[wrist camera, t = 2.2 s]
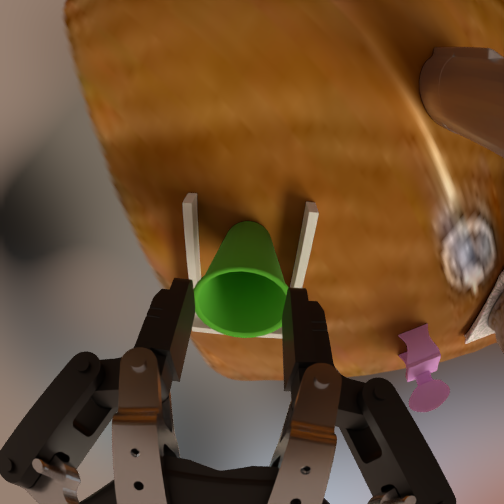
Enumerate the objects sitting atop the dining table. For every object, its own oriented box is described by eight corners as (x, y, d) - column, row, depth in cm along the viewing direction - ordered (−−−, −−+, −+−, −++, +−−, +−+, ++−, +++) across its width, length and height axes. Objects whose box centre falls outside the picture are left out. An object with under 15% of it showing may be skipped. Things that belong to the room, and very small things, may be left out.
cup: (223, 273, 36) (211, 341, 27) (200, 213, 31) (175, 276, 22) (291, 262, 34) (299, 332, 25) (279, 197, 29) (285, 259, 20)
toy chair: (432, 319, 41) (459, 387, 29) (428, 343, 46) (450, 404, 33) (392, 335, 43) (414, 406, 31) (393, 357, 48) (410, 420, 36)
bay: (188, 192, 29) (170, 223, 24) (351, 206, 29) (369, 239, 24) (198, 316, 41) (189, 351, 36) (315, 324, 41) (320, 360, 36)
